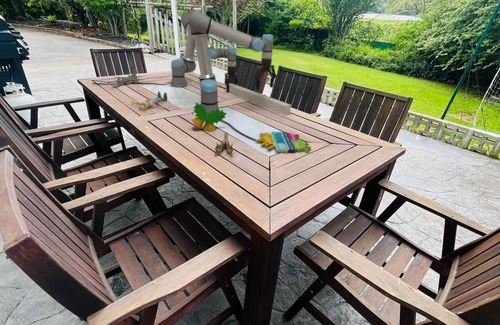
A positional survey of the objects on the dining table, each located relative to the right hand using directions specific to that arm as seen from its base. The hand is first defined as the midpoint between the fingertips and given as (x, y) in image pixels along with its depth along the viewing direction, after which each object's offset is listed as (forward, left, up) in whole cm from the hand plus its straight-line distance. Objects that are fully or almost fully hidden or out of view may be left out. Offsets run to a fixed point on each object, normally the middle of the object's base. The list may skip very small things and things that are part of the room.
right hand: (264, 88), depth 198 cm
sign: (-62, +8, -17) cm, 64 cm away
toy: (+17, +82, -17) cm, 85 cm away
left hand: (+53, +14, -16) cm, 57 cm away
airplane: (+88, +108, -17) cm, 140 cm away
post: (+21, 0, -17) cm, 27 cm away
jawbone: (-67, +43, -17) cm, 82 cm away
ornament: (-35, +47, -17) cm, 61 cm away
